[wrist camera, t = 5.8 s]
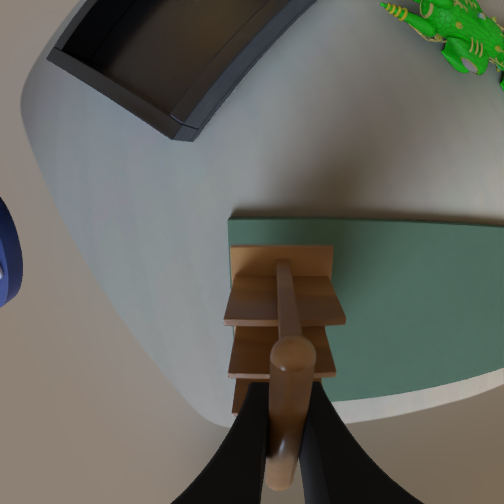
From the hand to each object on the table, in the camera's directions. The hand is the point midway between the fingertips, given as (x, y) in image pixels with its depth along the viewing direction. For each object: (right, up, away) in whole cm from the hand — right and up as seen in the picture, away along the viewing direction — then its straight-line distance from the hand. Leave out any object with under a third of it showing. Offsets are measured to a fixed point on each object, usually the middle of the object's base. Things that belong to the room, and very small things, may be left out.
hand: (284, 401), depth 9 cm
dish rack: (0, +2, +5) cm, 5 cm away
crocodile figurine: (+15, +19, +2) cm, 24 cm away
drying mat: (+15, 0, +8) cm, 17 cm away
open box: (-4, +18, +3) cm, 19 cm away
